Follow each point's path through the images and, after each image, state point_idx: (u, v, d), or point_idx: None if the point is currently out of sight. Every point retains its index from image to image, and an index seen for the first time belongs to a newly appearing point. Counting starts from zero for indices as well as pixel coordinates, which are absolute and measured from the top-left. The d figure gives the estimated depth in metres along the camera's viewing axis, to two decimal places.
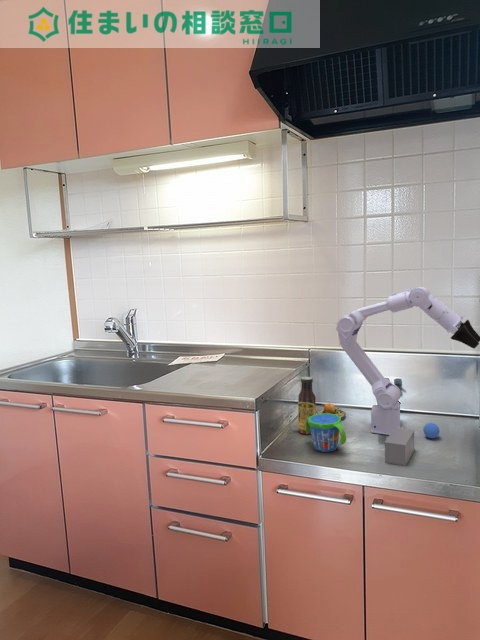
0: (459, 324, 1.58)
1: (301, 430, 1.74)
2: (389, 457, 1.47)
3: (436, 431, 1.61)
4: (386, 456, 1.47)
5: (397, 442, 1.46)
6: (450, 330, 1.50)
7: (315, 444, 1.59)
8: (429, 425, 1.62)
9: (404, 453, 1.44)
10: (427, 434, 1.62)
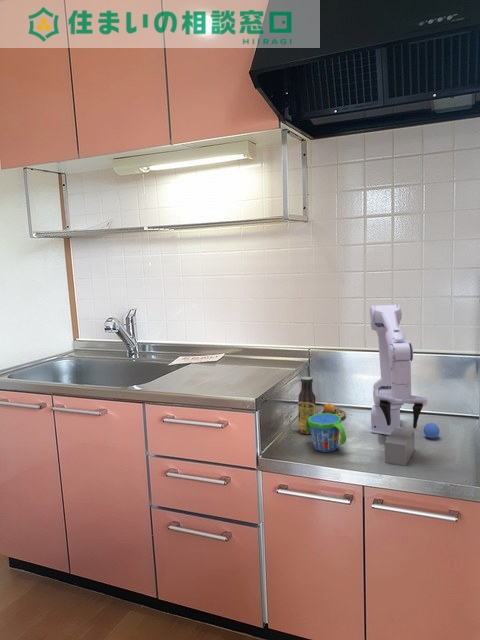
0: (414, 402, 1.47)
1: (301, 430, 1.74)
2: (389, 457, 1.47)
3: (436, 431, 1.61)
4: (386, 456, 1.47)
5: (397, 442, 1.46)
6: None
7: (315, 444, 1.59)
8: (429, 425, 1.62)
9: (404, 453, 1.44)
10: (427, 434, 1.62)
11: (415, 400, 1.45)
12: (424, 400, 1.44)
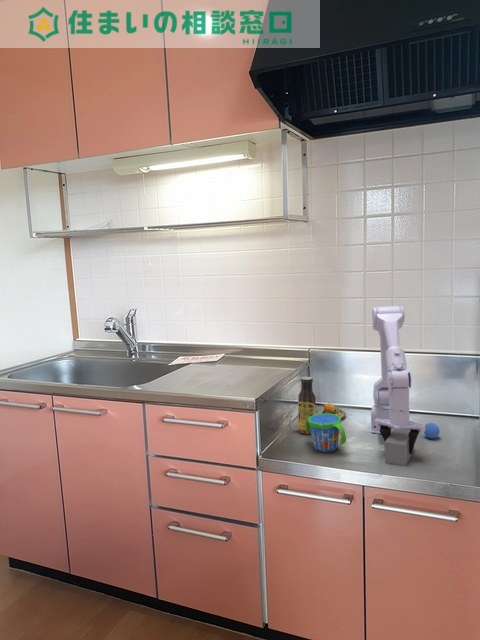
0: None
1: (301, 430, 1.74)
2: (389, 457, 1.47)
3: (436, 431, 1.61)
4: (386, 456, 1.47)
5: (397, 442, 1.46)
6: None
7: (315, 444, 1.59)
8: (429, 425, 1.62)
9: (404, 453, 1.44)
10: (427, 434, 1.62)
11: (413, 427, 1.46)
12: (422, 427, 1.46)
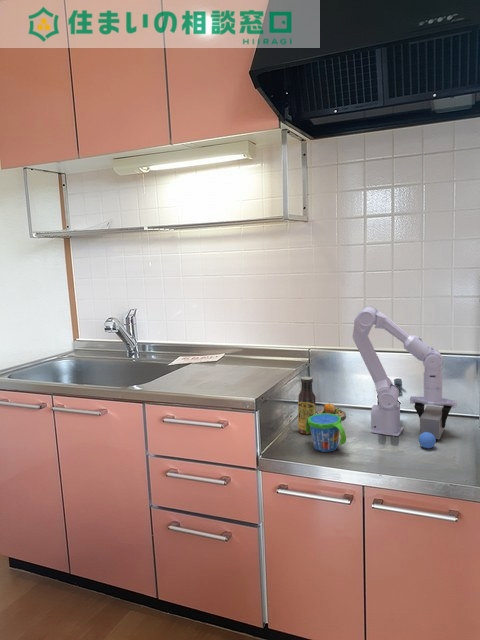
0: (444, 404, 1.63)
1: (301, 430, 1.74)
2: None
3: None
4: (421, 431, 1.62)
5: (431, 418, 1.60)
6: None
7: (315, 444, 1.59)
8: None
9: (438, 428, 1.59)
10: None
11: (446, 403, 1.61)
12: (454, 403, 1.60)
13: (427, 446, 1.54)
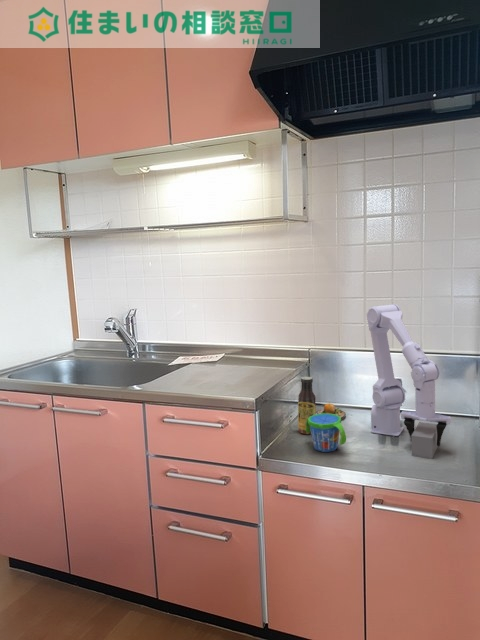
0: None
1: (301, 430, 1.74)
2: (416, 450, 1.51)
3: None
4: (413, 449, 1.51)
5: (424, 435, 1.50)
6: None
7: (315, 444, 1.59)
8: None
9: (431, 446, 1.48)
10: None
11: (439, 419, 1.50)
12: (448, 419, 1.49)
13: None
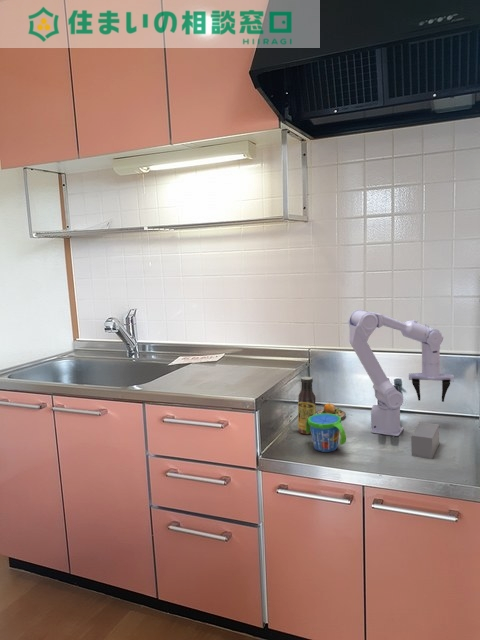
0: (442, 379, 1.70)
1: (301, 430, 1.74)
2: (416, 450, 1.51)
3: None
4: (413, 449, 1.51)
5: (424, 435, 1.50)
6: None
7: (315, 444, 1.59)
8: None
9: (431, 446, 1.48)
10: None
11: (444, 377, 1.68)
12: (452, 377, 1.68)
13: None
